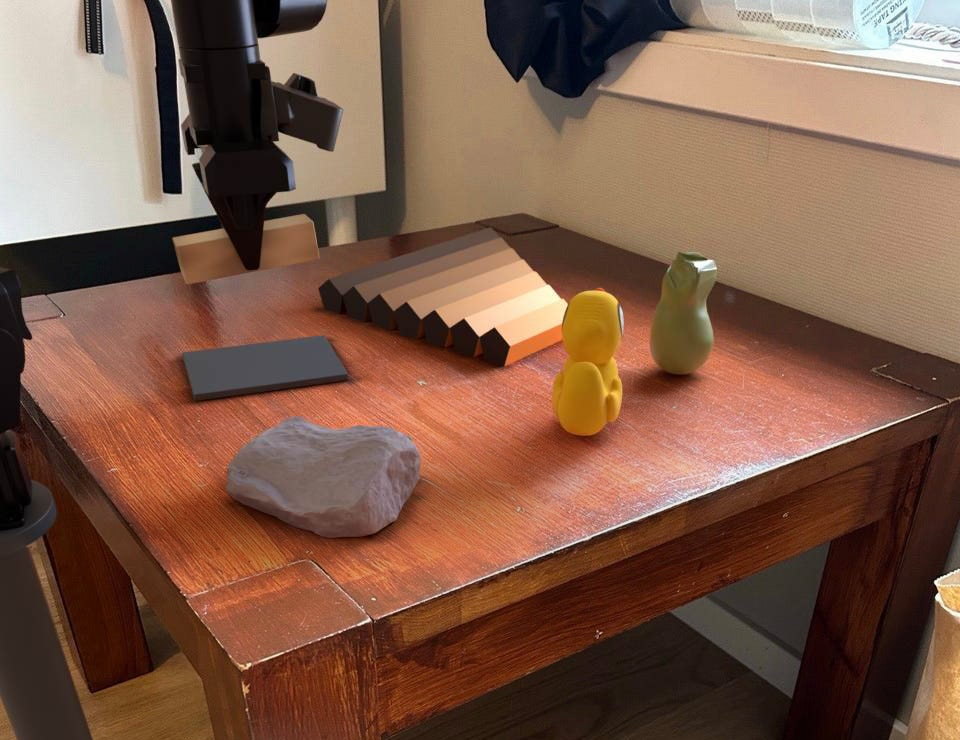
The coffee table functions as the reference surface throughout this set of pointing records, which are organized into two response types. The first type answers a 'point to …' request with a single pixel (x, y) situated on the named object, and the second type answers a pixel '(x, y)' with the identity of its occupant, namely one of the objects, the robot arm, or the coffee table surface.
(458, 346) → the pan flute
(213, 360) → the grey mat
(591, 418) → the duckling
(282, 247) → the maple bar
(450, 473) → the coffee table surface
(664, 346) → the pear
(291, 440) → the stone block
